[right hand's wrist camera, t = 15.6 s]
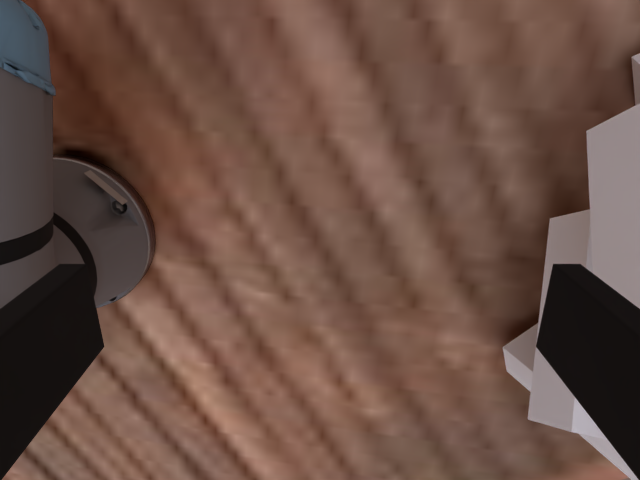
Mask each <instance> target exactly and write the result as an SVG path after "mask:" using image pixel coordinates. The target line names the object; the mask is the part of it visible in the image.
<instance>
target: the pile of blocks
mask: <svg viewBox="0 0 640 480" xmlns="http://www.w3.org/2000/svg"><path fill="white" fill-rule="evenodd" d="M631 58H632V70H633V82H634V94H635V106H634V107H632V108H630V109H628V110H626V111H624V112H622V113H620V114H618V115H616V116H614V117H612V118H610V119H608V120H607V121H605V122H603V123H601V124H599V125H597V126H595V127H593V128H591V129H589V130H587V131H586V134H587V156H588V178H589V200H590V209H589V210H585V211H580V212H576V213H571V214H567V215H563V216H558V217H554V218H550V222H549V231H548V240H547V249H546V258H545V267H544V276H543V285H542V295H541V304H540V313H539V322H538V323H537V324H536V325H534V326H533V327H531V328H530V329H528V330H527V331H525V332H524V333H522V334H521V335H520V336H518V337H517V338H515V339H514V340H512V341H511V342H509V343H508V344H506V345H505V346H503V352H504V358H505V364H506V369H507V372H508V373H509V374H511V375H512V376H513V377H514V378H515V379H516V380H518V381H519V382H520V383H521V384H522V385H523V386H524V387H526V388H527V389H528V390H529V391H530V392H531V394H530V403H529V413H528V420H532V421H535V422H539V423H542V424H546V425H549V426H553V427H556V428H560V429H563V430H567V431H570V432H574V433H578V434H580V435H581V436H582V437H583V438H584V439H585V440H586V441H588V442H589V443H590V444H591V445H592V446H593V447H595V448H596V449H597V450H598V451H599V452H600V453H601V454H603V455H604V456H605V457H606V458H607V459H608V460H609V461H611V462H612V463H613V464H614V465H615V466H616V467H617V468H619V469H620V470H621V471H622V472H623V473H624V474H626V475H627V476H628V477H629V478H630V479H631V480H638V478H637V477H636V476H635V474H634V473H633V472H632V471H631V469H630V468H629V467H628V465H627V464H626V463H625V461H624V460H623V459H622V458H621V456H620V455H619V454H618V452H617V451H616V450H615V449H614V447H613V446H612V445H611V443H610V442H609V441H608V439H607V438H606V437H605V436H604V434H603V433H602V432H601V430H600V429H599V428H598V426H597V425H596V424H595V423H594V421H593V420H592V419H591V417H590V416H589V415H588V414H587V412H586V411H585V410H584V408H583V407H582V406H581V404H580V403H579V402H578V401H577V399H576V398H575V397H574V395H573V394H572V393H571V392H570V390H569V389H568V388H567V386H566V385H565V384H564V382H563V381H562V380H561V379H560V377H559V376H558V375H557V373H556V372H555V371H554V369H553V368H552V367H551V366H550V364H549V363H548V362H547V360H546V359H545V358H544V357H543V355H542V354H541V353H540V351H539V350H538V349H537V347H536V343H537V338H538V334H539V329H540V324H541V319H542V314H543V310H544V305H545V300H546V295H547V290H548V286H549V281H550V276H551V271H552V266H553V264H581V265H582V266H584V267H585V268H586V269H588V270H589V271H590V272H592V273H593V274H594V275H596V276H597V277H598V278H600V279H601V280H602V281H604V282H605V283H606V284H608V285H609V286H610V287H612V288H613V289H614V290H616V291H617V292H618V293H619V294H621V295H622V296H623V297H625V298H626V299H627V300H629V301H630V302H631V303H633V304H634V305H635V306H637V307H638V308H639V309H640V53H639V54H637V55H634V56H632V57H631Z"/></svg>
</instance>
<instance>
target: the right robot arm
mask: <svg viewBox="0 0 640 480" xmlns="http://www.w3.org/2000/svg"><path fill="white" fill-rule="evenodd" d="M53 96H56V90H55V87H54V86H53V85H52V83H51V73H50V59H49V44H48V35H47V31H46V28H45V26H44V24H43V22H42V20H41V19H40V17H39V16H38V15H37V13H36V12H35V11H34V10H33V9H32V8H30V7H29V6H28V5H27V4H25V3H24V2H22V1H21V0H0V480H2V478H3V477H4V476H5V474H6V473H7V472H8V471H9V469H10V468H11V467H12V465H13V464H14V463H15V461H16V460H17V459H18V458H19V456H20V455H21V454H22V452H23V451H24V450H25V449H26V447H27V446H28V445H29V443H30V442H31V441H32V439H33V438H34V437H35V436H36V434H37V433H38V432H39V430H40V429H41V428H42V426H43V425H44V424H45V423H46V421H47V420H48V419H49V417H50V416H51V415H52V414H53V412H54V411H55V410H56V408H57V407H58V406H59V404H60V403H61V402H62V401H63V399H64V398H65V397H66V395H67V394H68V393H69V392H70V390H71V389H72V388H73V386H74V385H75V384H76V382H77V381H78V380H79V379H80V377H81V376H82V375H83V373H84V372H85V371H86V369H87V368H88V367H89V366H90V364H91V363H92V362H93V360H94V359H95V358H96V357H97V355H98V354H99V353H100V351H101V350H102V349H103V347H104V343H103V338H102V334H101V329H100V324H99V319H98V314H97V310H96V308H98V307H101V306H104V305H107V304H110V303H112V302H115V301H117V300H119V299H121V298H122V297H124V296H125V295H127V294H128V293H129V292H130V291H131V290H132V289H133V288H134V287H135V286H136V285H137V284H138V283H139V281H140V280H141V279H142V278H143V276H144V275H145V274H146V272H147V271H148V269H149V267H150V265H151V262H152V259H153V256H154V251H155V231H154V226H153V222H152V219H151V216H150V213H149V211H148V209H147V207H146V205H145V203H144V202H143V200H142V199H141V197H140V196H139V194H138V193H137V192H136V191H135V189H134V188H133V187H132V186H131V185H130V184H129V183H128V182H127V181H126V180H125V179H124V178H122V177H121V176H120V175H119V174H117V173H116V172H114V171H113V170H111V169H110V168H108V167H106V166H104V165H102V164H100V163H98V162H95V161H93V160H90V159H87V158H84V157H79V156H73V155H53ZM536 347H537V349H538V350H539V351H540V353H541V354H542V355H543V357H544V358H545V359H546V360H547V362H548V363H549V364H550V366H551V367H552V368H553V369H554V371H555V372H556V373H557V375H558V376H559V377H560V379H561V380H562V381H563V382H564V384H565V385H566V386H567V388H568V389H569V390H570V392H571V393H572V394H573V395H574V397H575V398H576V399H577V401H578V402H579V403H580V404H581V406H582V407H583V408H584V410H585V411H586V412H587V414H588V415H589V416H590V417H591V419H592V420H593V421H594V423H595V424H596V425H597V426H598V428H599V429H600V430H601V432H602V433H603V434H604V436H605V437H606V438H607V439H608V441H609V442H610V443H611V445H612V446H613V447H614V449H615V450H616V451H617V452H618V454H619V455H620V456H621V458H622V459H623V460H624V461H625V463H626V464H627V465H628V467H629V468H630V469H631V471H632V472H633V473H634V474H635V476H636V477H637V478H638V480H640V309H639V308H638V307H637V306H635V305H634V304H633V303H631V302H630V301H629V300H627V299H626V298H625V297H623V296H622V295H621V294H619V293H618V292H617V291H616V290H614V289H613V288H612V287H610V286H609V285H608V284H606V283H605V282H604V281H602V280H601V279H600V278H598V277H597V276H596V275H594V274H593V273H592V272H590V271H589V270H588V269H586V268H585V267H584V266H582V265H581V264H553V266H552V271H551V276H550V281H549V286H548V290H547V295H546V300H545V305H544V310H543V314H542V319H541V324H540V329H539V334H538V338H537V343H536Z"/></svg>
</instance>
